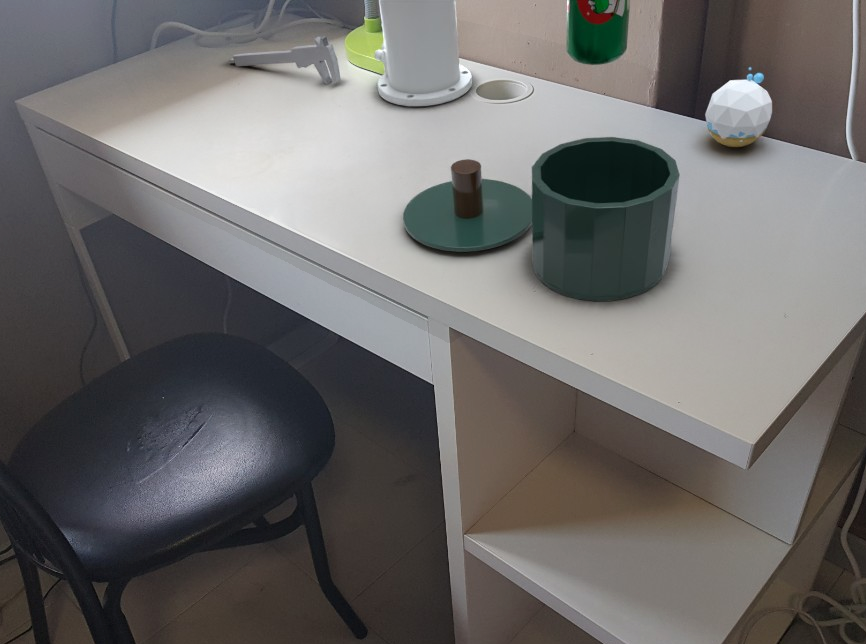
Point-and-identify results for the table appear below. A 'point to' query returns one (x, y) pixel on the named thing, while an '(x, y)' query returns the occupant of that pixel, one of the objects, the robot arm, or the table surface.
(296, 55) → the caliper
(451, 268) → the table surface
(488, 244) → the lid
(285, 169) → the table surface
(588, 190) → the pot
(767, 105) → the ornament
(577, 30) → the soda can
